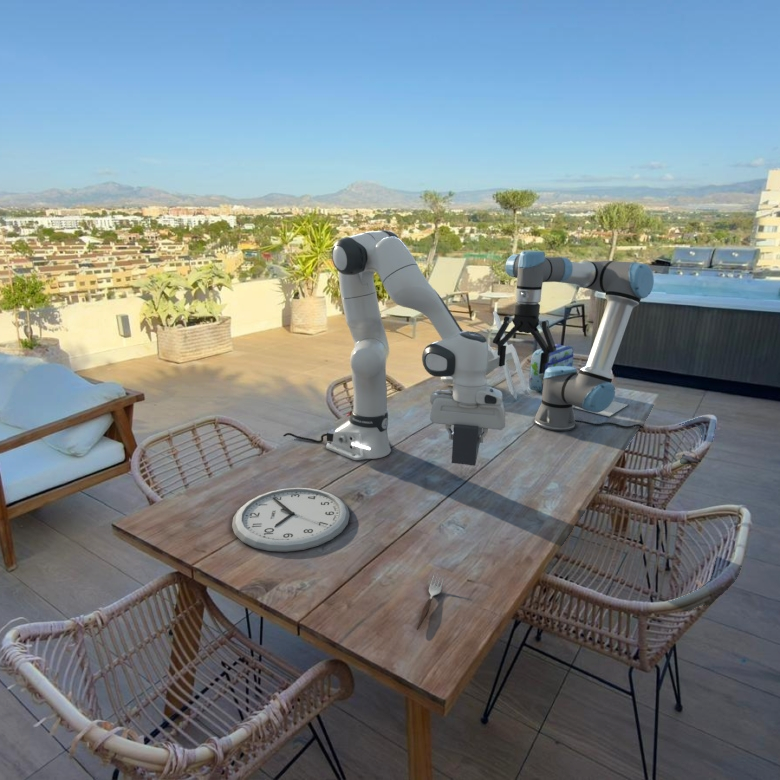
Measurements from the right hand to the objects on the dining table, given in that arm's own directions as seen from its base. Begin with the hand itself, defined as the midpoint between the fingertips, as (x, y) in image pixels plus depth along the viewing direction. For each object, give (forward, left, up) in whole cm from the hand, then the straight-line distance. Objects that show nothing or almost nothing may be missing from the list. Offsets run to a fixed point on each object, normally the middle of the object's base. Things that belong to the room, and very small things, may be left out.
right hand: (521, 369), depth 167 cm
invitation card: (-43, -58, -30) cm, 78 cm away
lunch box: (-25, -81, -30) cm, 90 cm away
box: (+16, +22, -18) cm, 33 cm away
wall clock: (+62, +49, -30) cm, 84 cm away
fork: (+25, +77, -30) cm, 87 cm away
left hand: (+17, +31, -13) cm, 37 cm away
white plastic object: (+8, -70, -30) cm, 76 cm away
